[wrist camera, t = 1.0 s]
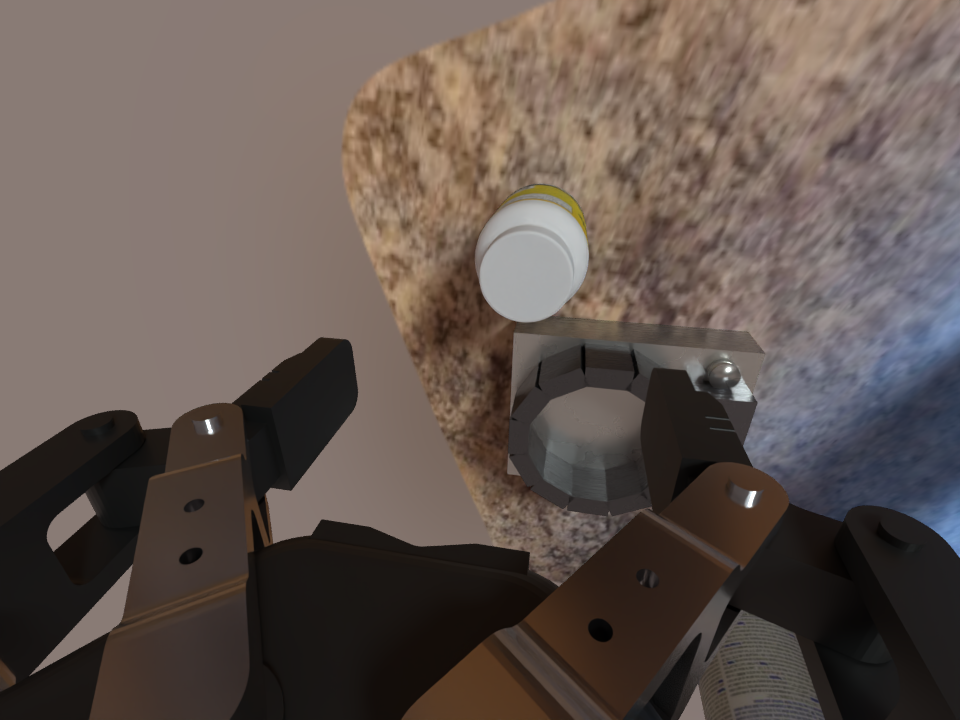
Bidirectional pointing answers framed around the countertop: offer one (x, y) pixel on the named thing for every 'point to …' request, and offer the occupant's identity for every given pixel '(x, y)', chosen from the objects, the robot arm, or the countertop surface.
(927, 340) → the countertop surface
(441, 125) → the countertop surface
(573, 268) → the supplement bottle
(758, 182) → the countertop surface
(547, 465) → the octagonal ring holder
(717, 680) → the spray can
